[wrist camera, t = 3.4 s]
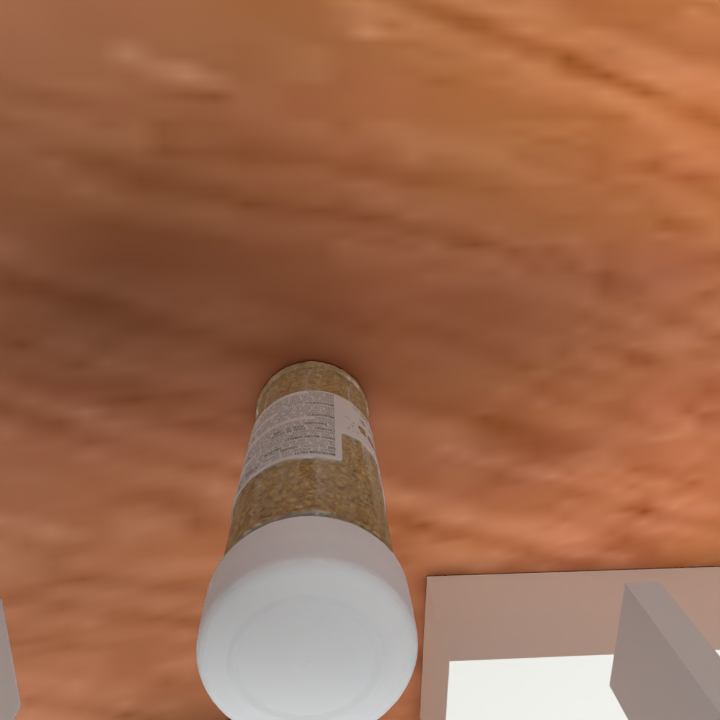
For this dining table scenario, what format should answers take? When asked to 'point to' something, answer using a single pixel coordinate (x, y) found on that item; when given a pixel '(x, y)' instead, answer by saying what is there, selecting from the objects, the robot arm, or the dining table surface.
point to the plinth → (540, 640)
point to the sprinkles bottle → (308, 566)
